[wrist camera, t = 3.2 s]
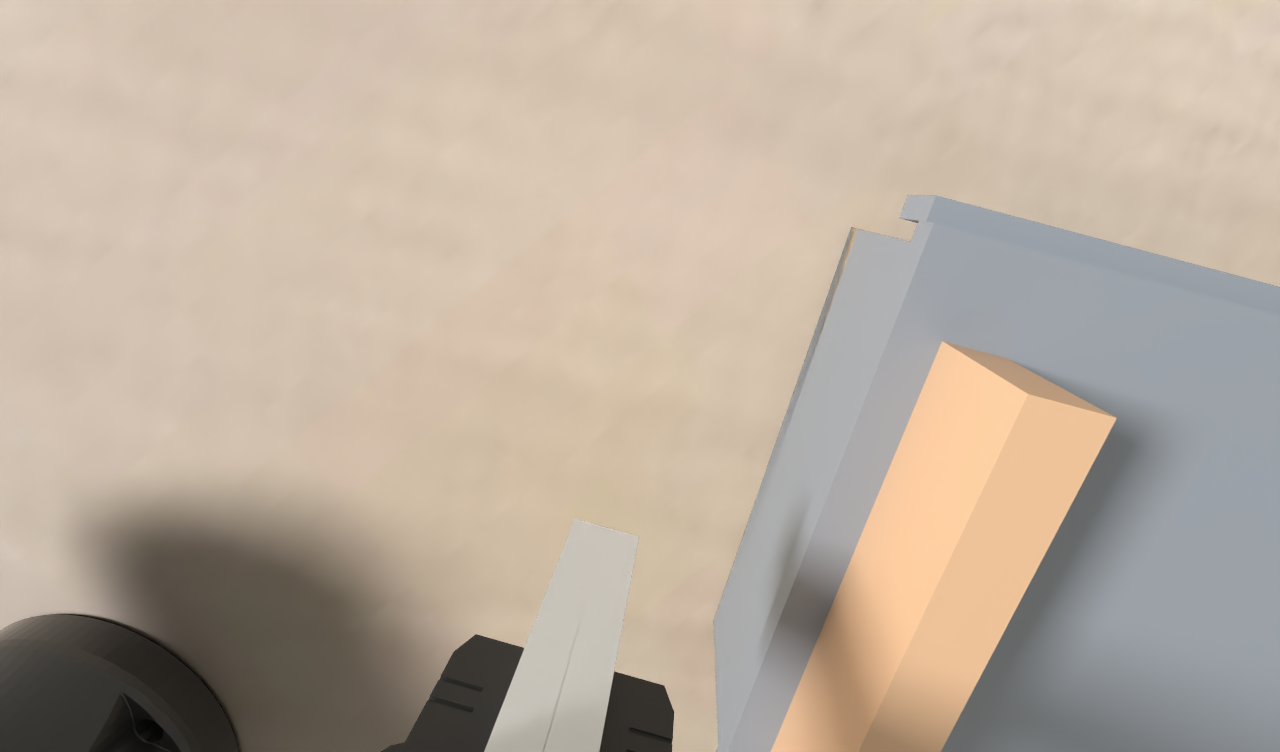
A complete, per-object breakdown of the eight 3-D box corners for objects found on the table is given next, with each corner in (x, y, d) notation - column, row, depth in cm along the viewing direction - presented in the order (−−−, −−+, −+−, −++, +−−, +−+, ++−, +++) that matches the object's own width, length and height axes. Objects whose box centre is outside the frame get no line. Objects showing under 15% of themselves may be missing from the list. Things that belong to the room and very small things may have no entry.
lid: (696, 764, 22) (695, 987, 16) (907, 194, 16) (1039, 198, 10) (1214, 908, 22) (1416, 1190, 16) (1625, 385, 16) (2216, 511, 10)
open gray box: (713, 620, 28) (719, 780, 21) (851, 227, 23) (928, 245, 15) (1098, 726, 28) (1249, 927, 20) (1329, 354, 23) (1651, 438, 15)
